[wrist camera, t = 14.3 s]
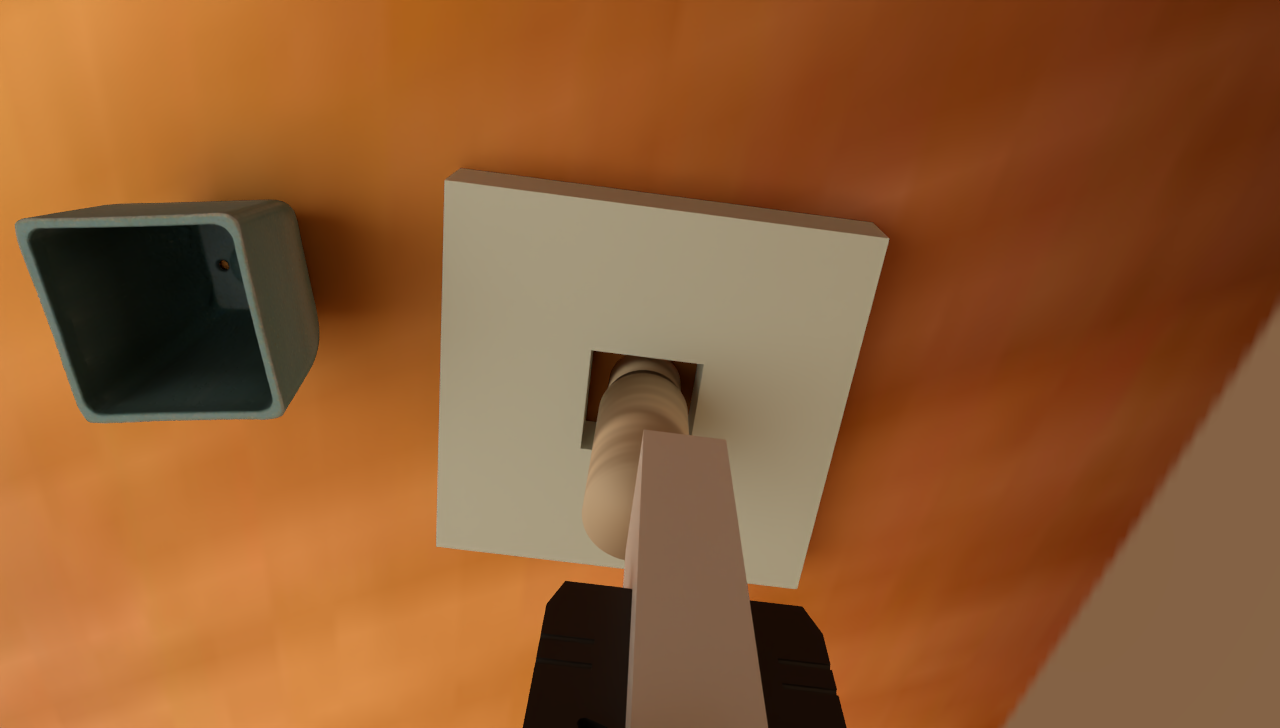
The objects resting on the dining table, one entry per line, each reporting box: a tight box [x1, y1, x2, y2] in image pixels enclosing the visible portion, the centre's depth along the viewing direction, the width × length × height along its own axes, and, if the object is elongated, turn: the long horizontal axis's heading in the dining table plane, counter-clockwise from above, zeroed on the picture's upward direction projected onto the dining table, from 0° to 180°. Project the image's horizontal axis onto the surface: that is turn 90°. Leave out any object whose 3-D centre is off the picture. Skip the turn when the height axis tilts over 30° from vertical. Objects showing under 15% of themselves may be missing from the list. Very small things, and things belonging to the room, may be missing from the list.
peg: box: [582, 355, 689, 560], centre depth 36 cm, size 4×4×12 cm
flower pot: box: [15, 200, 319, 423], centre depth 35 cm, size 9×9×9 cm
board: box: [436, 168, 889, 589], centre depth 40 cm, size 20×20×3 cm
